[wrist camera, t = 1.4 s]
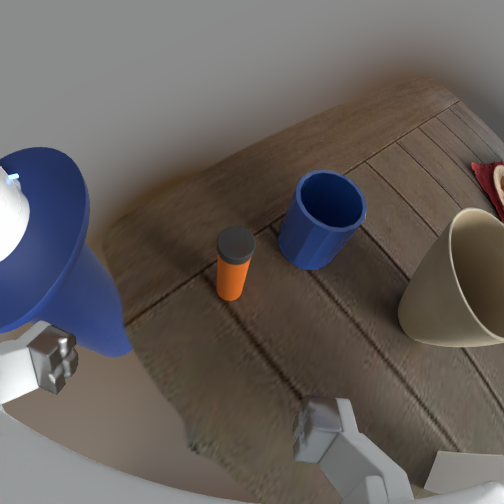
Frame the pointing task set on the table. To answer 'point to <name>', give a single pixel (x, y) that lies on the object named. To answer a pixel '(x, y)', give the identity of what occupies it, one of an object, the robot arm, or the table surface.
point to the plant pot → (459, 285)
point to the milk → (463, 471)
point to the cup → (320, 219)
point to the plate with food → (492, 183)
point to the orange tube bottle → (233, 260)
